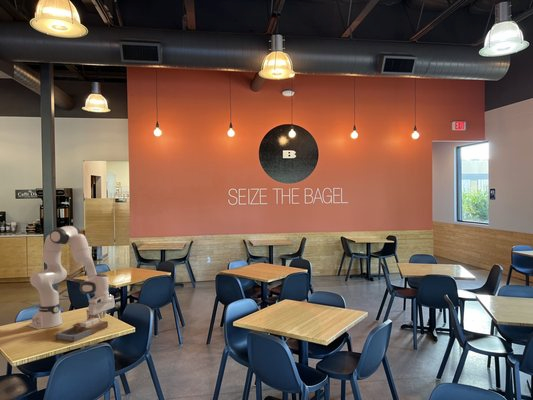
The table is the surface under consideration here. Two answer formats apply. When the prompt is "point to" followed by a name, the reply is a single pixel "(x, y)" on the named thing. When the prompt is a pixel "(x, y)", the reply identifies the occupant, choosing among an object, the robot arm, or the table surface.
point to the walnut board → (92, 327)
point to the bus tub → (72, 335)
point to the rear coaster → (94, 320)
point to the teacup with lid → (92, 315)
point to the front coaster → (86, 323)
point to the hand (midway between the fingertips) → (102, 317)
